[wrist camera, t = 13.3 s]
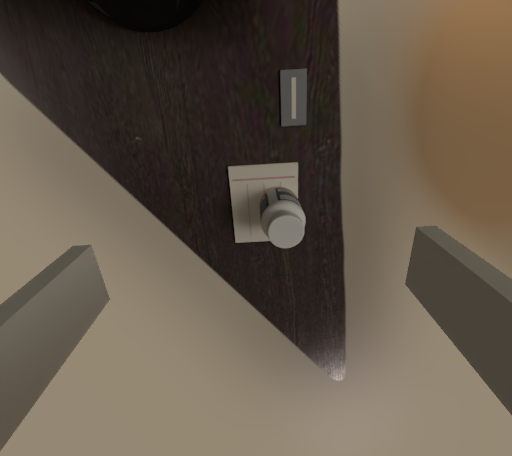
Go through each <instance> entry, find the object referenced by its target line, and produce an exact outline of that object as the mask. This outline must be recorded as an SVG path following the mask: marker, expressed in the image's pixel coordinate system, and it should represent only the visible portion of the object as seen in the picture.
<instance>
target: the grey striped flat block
mask: <svg viewBox="0 0 512 456" xmlns="http://www.w3.org/2000/svg"><path fill="white" fill-rule="evenodd" d="M280 89H281V126H296V125H306V100H307V69H292V70H280Z"/></svg>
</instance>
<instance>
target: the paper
mask: <svg viewBox="0 0 512 456" xmlns="http://www.w3.org/2000/svg"><path fill="white" fill-rule="evenodd" d="M228 173H229V183H230V193H231V202H232V212H233V222H234V232H235V242H236V243H240V242H258V241H270V239H269V238H268V237H267V236H266V235H265V233H264V232H263V230H262V227H261V219H260V200H261V198H262V196H263V195H264V194H265V193H266V192H267V191H268V190H270V189H272V188H275V187H285V188H288V189H290V190H291V191H292V192H293V193H294V194H295V195H296V197H297V199H298V162H290V163H273V164H257V165H240V166H228Z"/></svg>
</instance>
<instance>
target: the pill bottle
mask: <svg viewBox="0 0 512 456" xmlns="http://www.w3.org/2000/svg"><path fill="white" fill-rule="evenodd" d="M260 219H261V227H262V230H263V232H264V233H265V235H266V236H267V237H268V238H269V239H270V241H271V242H272V243H273V244H274V245H275V246H277V247H280V248H290V247H293V246H295V245H297V244H298V243H299V242H300V241H301V240H302V238H303V236H304V227H305V215H304V212H303V210H302V208H301V205H300V203H299V201H298V199H297V197H296V195H295V194H294V193H293V192H292V191H291V190H290V189H288V188H285V187H275V188H272V189H270V190H268V191H267V192H266V193H265V194H264V195H263V196H262V198H261V200H260Z"/></svg>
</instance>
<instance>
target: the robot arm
mask: <svg viewBox="0 0 512 456" xmlns="http://www.w3.org/2000/svg"><path fill="white" fill-rule="evenodd" d="M85 1H86V2H87V3H89V4H90V5H91V6H92V7H93V8H94V9H96V10H97V11H98V12H99V13H101V14H102V15H104V16H106V17H107V18H109V19H111V20H112V21H114V22H116V23H118V24H120V25H122V26H124V27H127V28H130V29H133V30H137V31H143V32H157V31H163V30H166V29H169V28H172V27H174V26H176V25H178V24H180V23H181V22H183V21H184V20H185V19H187V18H188V17H189V16H190V15H191V14H192V13H193V12H194V11H195V9H196V8H197V7H198V6H199V4H200V2H201V1H202V0H85ZM405 284H406V286H407V287H408V288H409V289H410V291H411V292H412V293H413V294H414V295H415V297H416V298H417V299H418V300H419V302H420V303H421V304H422V305H423V307H424V308H425V309H426V310H427V311H428V313H429V314H430V315H431V316H432V317H433V319H434V320H435V321H436V323H437V324H438V325H439V326H440V327H441V329H442V330H443V331H444V332H445V334H446V335H447V336H448V337H449V338H450V340H451V341H452V342H453V343H454V345H455V346H456V347H457V348H458V350H459V351H460V352H461V353H462V354H463V356H464V357H465V358H466V359H467V361H468V362H469V363H470V364H471V366H472V367H473V368H474V369H475V370H476V372H477V373H478V374H479V375H480V377H481V378H482V379H483V380H484V382H485V383H486V384H487V385H488V386H489V388H490V389H491V390H492V391H493V393H494V394H495V395H496V396H497V397H498V399H499V400H500V401H501V402H502V404H503V405H504V406H505V407H506V409H507V410H508V411H509V412H510V414H511V415H512V279H511V278H509V277H508V276H506V275H505V274H503V273H502V272H501V271H499V270H498V269H496V268H495V267H493V266H492V265H491V264H489V263H488V262H486V261H485V260H484V259H482V258H481V257H479V256H478V255H477V254H475V253H474V252H472V251H471V250H469V249H468V248H467V247H465V246H464V245H462V244H461V243H459V242H458V241H457V240H455V239H454V238H452V237H451V236H449V235H448V234H447V233H445V232H444V231H442V230H441V229H439V228H438V227H437V226H424V227H416V231H415V237H414V242H413V247H412V252H411V257H410V262H409V267H408V273H407V278H406V283H405ZM109 300H110V298H109V295H108V293H107V290H106V287H105V284H104V281H103V278H102V275H101V273H100V270H99V266H98V263H97V260H96V258H95V255H94V251H93V249H92V246H91V245H84V246H72V247H71V248H70V249H69V250H67V251H66V252H65V253H64V254H63V255H61V256H60V257H59V258H58V259H56V260H55V261H54V262H53V263H51V264H50V265H49V266H48V267H46V268H45V269H44V270H43V271H42V272H40V273H39V274H38V275H37V276H35V277H34V278H33V279H32V280H31V281H29V282H28V283H27V284H26V285H24V286H23V287H22V288H21V289H19V290H18V291H17V292H16V293H14V294H13V295H12V296H11V297H9V298H8V299H7V300H6V301H5V302H3V303H2V304H1V305H0V451H1V450H2V448H3V447H4V445H5V444H6V443H7V441H8V440H9V439H10V437H11V436H12V434H13V433H14V432H15V430H16V429H17V427H18V426H19V425H20V423H21V422H22V420H23V419H24V418H25V416H26V415H27V414H28V412H29V411H30V409H31V408H32V407H33V405H34V404H35V402H36V401H37V400H38V398H39V397H40V396H41V394H42V393H43V391H44V390H45V389H46V387H47V386H48V384H49V383H50V381H51V380H52V379H53V377H54V376H55V375H56V373H57V372H58V370H59V369H60V368H61V366H62V365H63V364H64V362H65V361H66V359H67V358H68V357H69V355H70V354H71V352H72V351H73V350H74V348H75V347H76V346H77V344H78V343H79V341H80V340H81V339H82V337H83V336H84V334H85V333H86V332H87V330H88V329H89V327H90V326H91V325H92V323H93V322H94V321H95V319H96V318H97V316H98V315H99V314H100V312H101V311H102V310H103V308H104V307H105V305H106V304H107V303H108V301H109Z"/></svg>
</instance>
